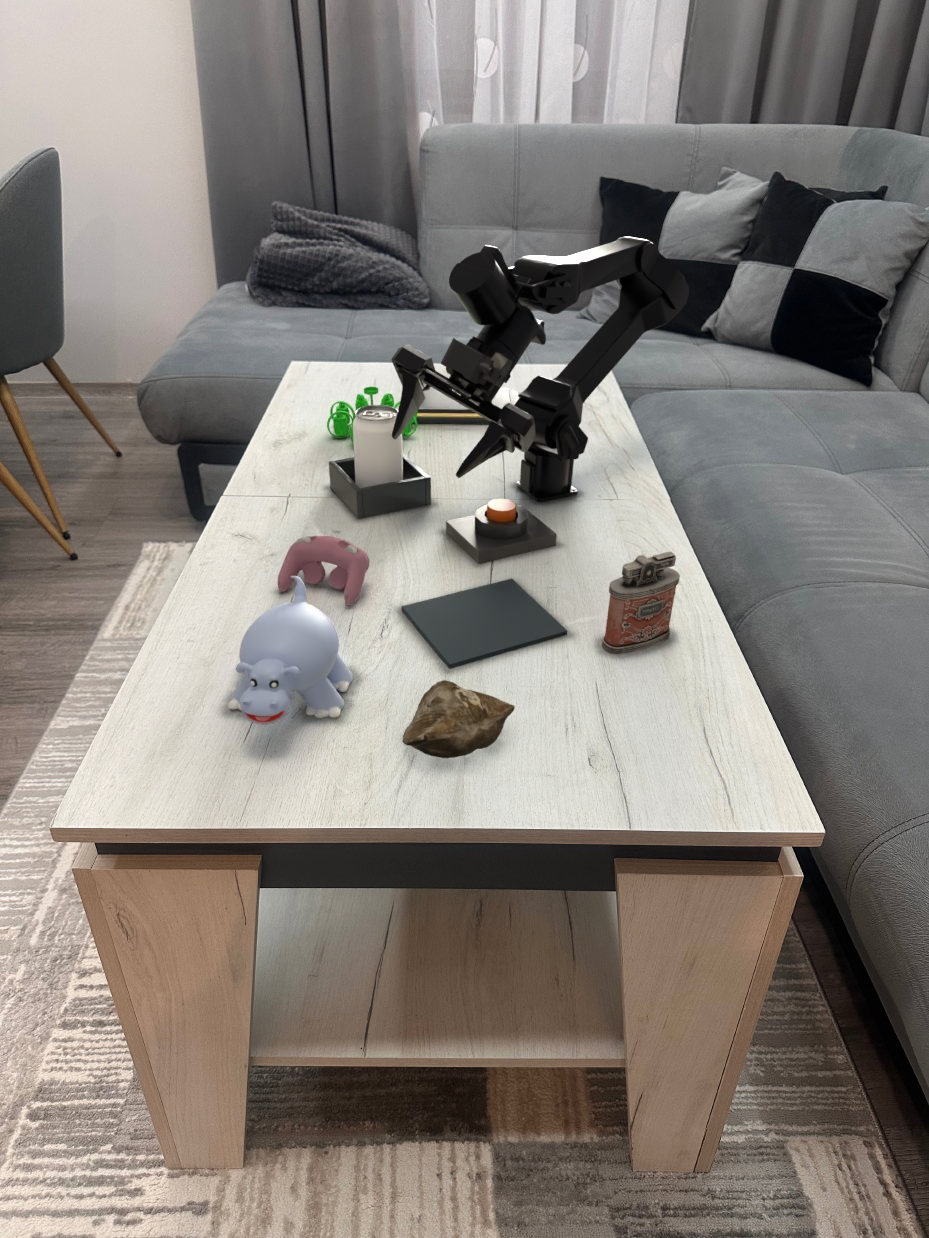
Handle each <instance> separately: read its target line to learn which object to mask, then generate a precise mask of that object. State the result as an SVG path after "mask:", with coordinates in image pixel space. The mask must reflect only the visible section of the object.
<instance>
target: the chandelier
mask: <svg viewBox="0 0 929 1238" xmlns="http://www.w3.org/2000/svg"><path fill="white" fill-rule="evenodd" d="M363 393H364V394H362V393H357V395H356V399H355V404H354V407H355V408H353V407H352V405H351V404H350V403H348V402H346V401H344V400H338V401H336V402H334V403H333V404H332V405H331V407H330V409H329V414H330V416H329V417H328V419H327V421H326V422H327V423H326V429H327V431H328V433H329V434H330V435H331V436H333V437H334V438H339V439H343V438H346V437H347V436H349V438H350V441H351V444H352V445H354V443H353V421H354V419H355V417H356V414H355V412H356V410H357V409H359V408H361V407H364V406H368V405H374V395H377V394H379V388H378V387H377V386H366V387H365V388H363ZM364 395H368V396H369V397H370V398H369V399H370V404H369V402H368V399H367V398H365V396H364ZM400 401H401V400H399V401H398V402H397V403H396V404H395V399H394V396H393V394H392V393H389V392H387V393H385V394H384V395H383V396H382V398H381V399H380V404H379V405H386V406H391V407H394V408H396V409H397V407H398V409H399V406H400ZM337 404H338V405H337ZM335 405H337V406H336V407H335ZM334 407H335V408H336V409H335V411H334V412H333V409H334ZM354 409H355V410H354ZM398 409H397V410H398ZM350 412H351V414H352V415H351V414H350ZM417 414H418V410H417V412H416V413H415V416H413V419H411V421H410V422H409V424H408V425H407V427H406V428H405V430H404V431H403V432H402V437H407V438H408V437H410V436H412V435H414V434H415V433H416V431H417V428H418V424H417V420H416V418H417ZM331 420H332V423H333V432H332V431H331V429H330V422H331ZM413 422H415V424H414V423H413ZM413 424H414V428H413V431H412V425H413ZM349 427H350V428H349Z"/></svg>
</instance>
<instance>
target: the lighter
mask: <svg viewBox="0 0 929 1238" xmlns="http://www.w3.org/2000/svg"><path fill="white" fill-rule="evenodd" d="M676 559H677V556H676V555H675V553H674V552H673V551H671V550H670V551H666V552H662V553H657V554H653V555H652V556H649V557H647V556H646V555H644V554H641V555H638V556H636V557H635V559H634V560H633V561H630V562H627V563H623V565H622V569H621V575H622V576H620V577H618V578H615V579H613V580H612V581H610V583H609V586H608V593H609V600H608V609H607V616H606V624H605V632H604V636H602V640H601V648H602V649H603V651H605V652H606V653H608V654H610V655H615V656H619V655H625V654H631V653H635V652H639V651H644V650H647V649H649V648H653V647H655V646H657V645H660V644H662V643H664V642H665V641H667V640H668V639H669V638H670V634H671V627H670V625H671V619H672V613H673V606H674V601H675V595H676V589H677V586H678V585H679V583H680V578H681V575H680V573H679V572H678V571H677V570H675V569H673V568H671V567H675V565H676Z"/></svg>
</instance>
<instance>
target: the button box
mask: <svg viewBox="0 0 929 1238" xmlns="http://www.w3.org/2000/svg"><path fill="white" fill-rule="evenodd" d="M445 533H446V534H447V536H449V537H450V538H451V539H452V540H453V541H454V542H455V543H456V544H457V545H458V546H459V548H461V549H462V550H463V551H465V553H466V554H467V555H468V556H469V557H471V559H472V560H473V561H474V562H475V563H477V564H479V565H481V564H483V563H488V562H492V561H497V560H500V559H501V560H502V559H505V558H509V557H513V556H517V555H522V554H526V553H531V552H534V551H539V550H542V549H546V548H551V547H555V546H556V545H557V536H558V533H557V532H555V531H554V530H553V529H552V528H550V527H549V526H548V525H547V524H545V522H543V521H542V520H541V519H540V518H538V517H537V516H536V515H534V514H533V513H531V512H530V511H529V510H528V509H526V508H525V507H524V506H523V505H522V504H518V505H516V518H515V520H512V521H508V522H496V521H493V520H490V519H488V518H487V504H483V505H481V506H480V507H478V508H477V509H476V510H475V512H474V514H472V515H467V516H462V517H459V518H453V519H448V520H445Z"/></svg>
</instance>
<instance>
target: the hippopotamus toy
mask: <svg viewBox="0 0 929 1238" xmlns="http://www.w3.org/2000/svg"><path fill="white" fill-rule="evenodd" d="M291 578H294V579H295V581H296V586H295V591H294V596H293V597H294V599H293V601H289V602H283V603H280V604H277V605H275V606H274V607H271V608H270V609H268V610H266V611H265V612H263V613H261V614H260V615H259V616H258V617H257V618H255V620H254V621H253V622H252V623H251V624H250V625H249V626H248V628H247V630H246V631H245V632H244V635H243V637H242V640H241V643H240V647H239V663H237V664H236V666H235V671H236V672H237V673H238V674H242V673H243V675H242V677H241V679H240V681H239V683H238V684H237V686H236V688H235V690H234V692H233V694H232V696H231V701H229V702H228V704H227V708H228V709H229V710H239V711H241V712H242V715H243V717H244V719H246V720H247V721H248V722H250V723H252V724H255V725H259V726H272V725H275V724H277V723H280V722H281V721H283V720H284V719H285V718H286V716H287V715H288V714H289V712H290V707H291V701H290V699H291V697H292V693H298V695H299V696H300V697H301V698H302V700H303V701H304V702H305V704H306V706H307V707H306V709H305V713H306V715H307V716H315V717H316V718H319V719H323V718H327V717H330V718H334V719H335V718H338V717H339V716H341V710H343V708H344V706H345V701H344V699H343V697H342V696H341V695H340V694H339V692H341V693H344V692H347V691H348V689H349V686H350V684H351V683H352V682H353V679H354V675H353V673H352V672H351V670H350V669H349V668H348V666H347V665H346V663H345V662H344V660H343V658H341V655H339V650H340V649H339V647H340V640H339V634H338V632H337V629H336V626H335V625H334V624H333V622H332V621H331V620H330V618H329V617H328V616H327V615H326V614H325V613H324V612H322V611H321V609H318V607H316V606H314V605H312V604H310V603H308V593H307V588H306V584H305V583H304V581H303V579H302V578H301V577H299V575H298V576H291ZM338 691H339V692H338Z"/></svg>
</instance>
